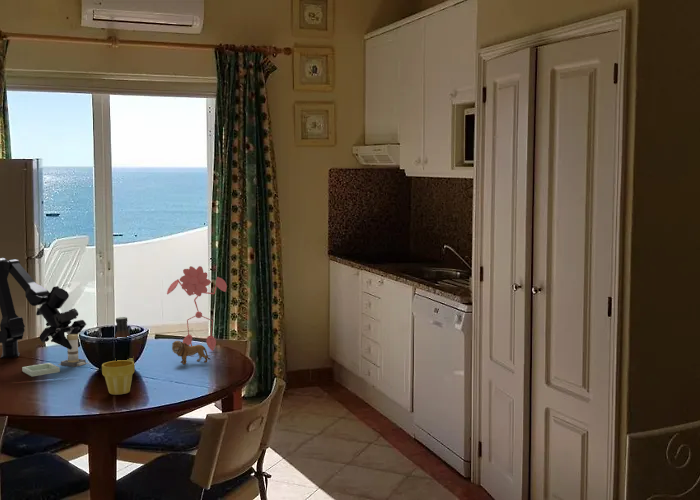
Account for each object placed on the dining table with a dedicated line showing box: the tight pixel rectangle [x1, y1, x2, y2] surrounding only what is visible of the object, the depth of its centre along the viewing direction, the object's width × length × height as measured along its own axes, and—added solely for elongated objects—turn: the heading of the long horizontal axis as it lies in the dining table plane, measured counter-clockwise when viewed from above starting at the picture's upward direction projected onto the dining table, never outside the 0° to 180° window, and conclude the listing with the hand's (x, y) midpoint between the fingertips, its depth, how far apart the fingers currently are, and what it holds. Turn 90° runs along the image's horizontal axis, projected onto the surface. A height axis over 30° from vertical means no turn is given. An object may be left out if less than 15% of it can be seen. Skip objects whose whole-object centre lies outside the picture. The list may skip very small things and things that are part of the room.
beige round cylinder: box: [66, 334, 80, 363], centre depth 304 cm, size 4×4×11 cm
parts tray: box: [21, 362, 61, 377], centre depth 293 cm, size 10×10×2 cm
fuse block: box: [57, 358, 89, 368], centre depth 305 cm, size 9×7×2 cm
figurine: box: [166, 265, 228, 355], centre depth 324 cm, size 15×26×35 cm, turn 80°
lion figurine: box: [171, 340, 212, 365], centre depth 308 cm, size 15×5×9 cm, turn 113°
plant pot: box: [101, 360, 136, 396], centre depth 267 cm, size 10×10×10 cm
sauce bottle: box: [113, 316, 135, 363], centre depth 294 cm, size 7×6×20 cm
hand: (75, 347), depth 304 cm, fingers closed on beige round cylinder, 4 cm apart
